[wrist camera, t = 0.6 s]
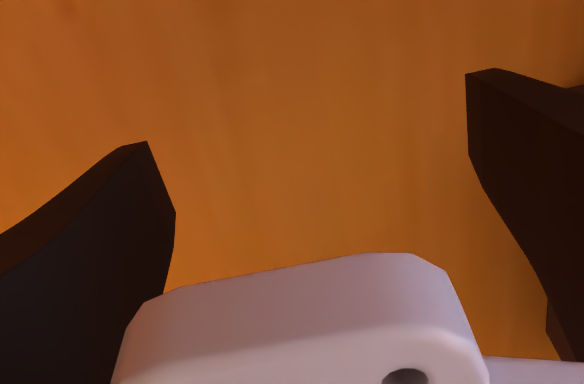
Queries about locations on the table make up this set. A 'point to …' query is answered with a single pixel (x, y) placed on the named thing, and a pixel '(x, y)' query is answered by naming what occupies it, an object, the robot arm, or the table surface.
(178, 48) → the table surface
